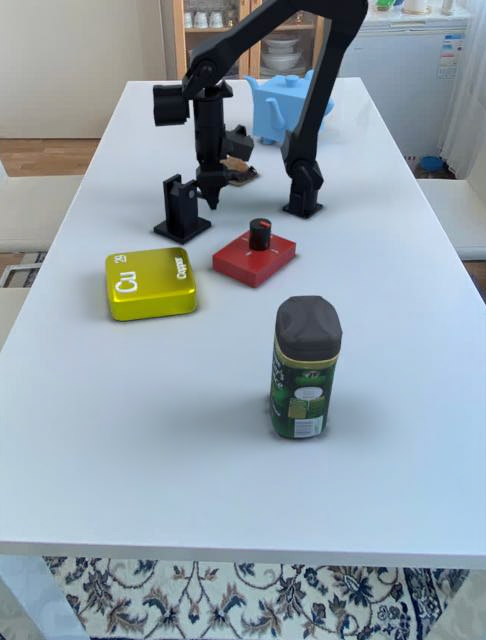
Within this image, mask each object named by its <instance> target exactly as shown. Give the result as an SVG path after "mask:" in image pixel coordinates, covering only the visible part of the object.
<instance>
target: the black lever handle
mask: <svg viewBox="0 0 486 640" xmlns="http://www.w3.org/2000/svg"><path fill="white" fill-rule="evenodd" d="M184 184H185V183H183V182H182V183H179V182H176V181H174V182H173V185H172V189H171V192H170V194H173V195H176V196H178V197H179V192H178V187H180V186H182V185H184ZM197 196H198V199H201V200H204V201H206V199H205V198H204V196H203V194H202V192H201V191H200V190H197ZM219 203H220V198H219V199H218V204H219Z"/></svg>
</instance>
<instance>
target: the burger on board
mask: <svg viewBox="0 0 486 640" xmlns="http://www.w3.org/2000/svg"><path fill="white" fill-rule="evenodd" d="M220 163H223V164H225V165H226V166H227V167H228V175H229V185H233V186H236V187H241V186H244V185H245V184H247V183H249V182H251V181H252V182H253V180H254V179H256V178H259V173H258V171H257V169H256V168H255V167H254V166H253V165H249V164H247V162H244V161H242V160H241V159H237V158H234V157H231V156H227V160H221V161H220Z"/></svg>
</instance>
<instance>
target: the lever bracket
mask: <svg viewBox="0 0 486 640" xmlns="http://www.w3.org/2000/svg"><path fill="white" fill-rule="evenodd" d="M182 178H183V177H182V174H180V173H176V174H174V175H173V176H170V177H169V178H166V179H165V180H163V181H162V189H163V190H162V191H163V201H164V213H165V220H163V221H162V222H159V223H157V225H155V226H153V228H152V229H153V233H154V234H156V235H159V236H161V237H163V238H166V239H168V240H170V241H173V242H175V243H177V244H180V245H181V246H184V245H185V244H188V242H190V241H191V240H193V239H195V238H196V237H198V236H199V235H201V234H203V233H204V232H206V231H207V230H209V229H210V228H212V221H211V220H208V219H206V218H203V217H201V216H199V201H198V200H199V198H198V196H197V191H198V187H197V184H196V179H194V178H192V179H190V180H189V181H187V182H185V183H183V179H182ZM174 181H176V182H179V183H182V184H184V185H182V186H180V187H178V192H179V197H178V196H176V195H173V194H170V192H171V189H172V185H173V182H174Z"/></svg>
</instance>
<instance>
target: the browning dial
mask: <svg viewBox="0 0 486 640" xmlns="http://www.w3.org/2000/svg"><path fill="white" fill-rule="evenodd" d="M272 225H273V224H272V221H271V220H270V219H268V218H264V217H256V218H253V219H251V220H250V221H249V229H248V230H249V247H250V248H251V249H253V250H255V251H264V250H267V249H268V248H269V247H270V240H271V233H272Z"/></svg>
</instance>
